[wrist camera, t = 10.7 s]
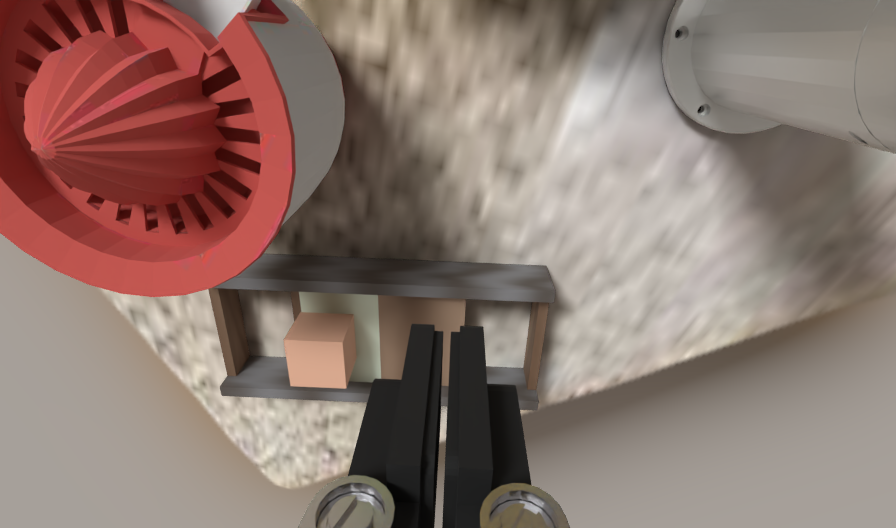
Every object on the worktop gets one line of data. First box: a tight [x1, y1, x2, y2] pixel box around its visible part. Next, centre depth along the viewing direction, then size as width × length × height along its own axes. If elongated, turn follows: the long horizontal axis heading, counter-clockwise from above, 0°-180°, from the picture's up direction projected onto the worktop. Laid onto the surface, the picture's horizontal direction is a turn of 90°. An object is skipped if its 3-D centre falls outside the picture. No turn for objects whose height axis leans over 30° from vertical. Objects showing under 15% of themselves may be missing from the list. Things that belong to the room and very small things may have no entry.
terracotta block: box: [284, 312, 357, 389], centre depth 38 cm, size 4×4×4 cm
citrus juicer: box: [0, 0, 345, 297], centre depth 25 cm, size 16×17×20 cm
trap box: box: [209, 254, 556, 410], centre depth 40 cm, size 28×12×4 cm, turn 88°
